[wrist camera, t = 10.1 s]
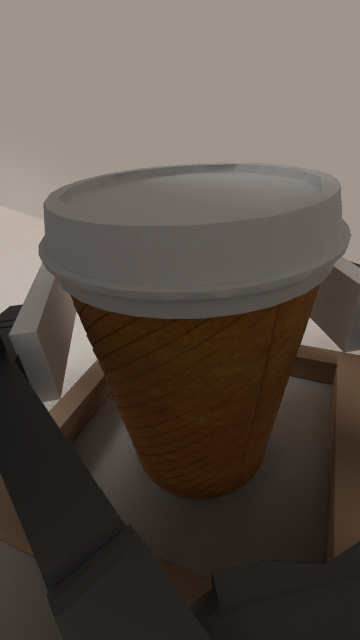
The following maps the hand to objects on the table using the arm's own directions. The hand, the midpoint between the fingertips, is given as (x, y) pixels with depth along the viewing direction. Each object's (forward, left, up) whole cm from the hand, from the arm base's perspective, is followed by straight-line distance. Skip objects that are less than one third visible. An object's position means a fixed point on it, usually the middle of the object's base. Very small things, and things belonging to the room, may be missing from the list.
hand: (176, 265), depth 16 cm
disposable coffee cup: (-4, -2, -8) cm, 9 cm away
